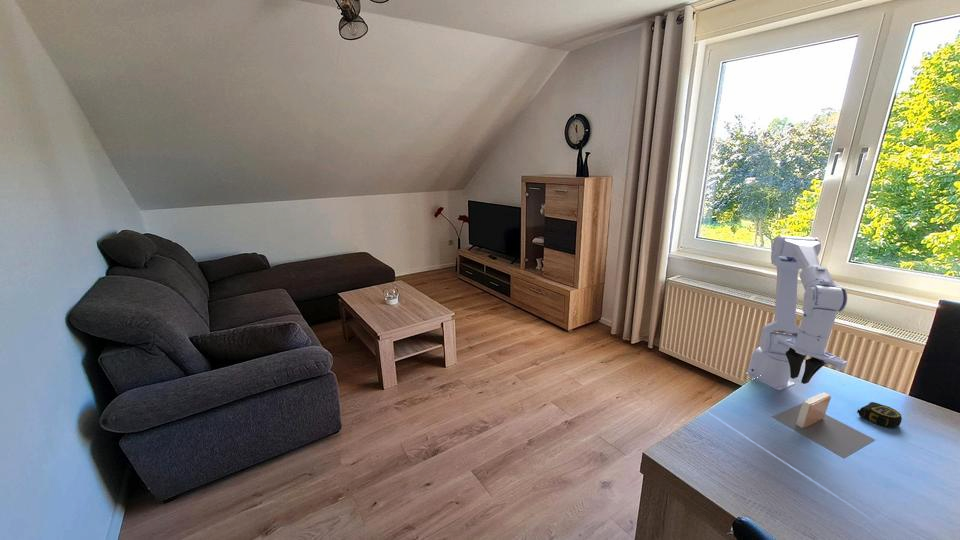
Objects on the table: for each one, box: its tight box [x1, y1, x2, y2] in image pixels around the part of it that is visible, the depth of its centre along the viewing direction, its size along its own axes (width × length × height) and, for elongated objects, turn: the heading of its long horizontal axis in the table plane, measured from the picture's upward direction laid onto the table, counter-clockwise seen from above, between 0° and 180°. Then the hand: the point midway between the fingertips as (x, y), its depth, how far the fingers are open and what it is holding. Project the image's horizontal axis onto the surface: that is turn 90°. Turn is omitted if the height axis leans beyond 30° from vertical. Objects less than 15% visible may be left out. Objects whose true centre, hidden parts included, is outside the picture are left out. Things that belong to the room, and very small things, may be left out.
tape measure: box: [856, 401, 903, 429], centre depth 96 cm, size 7×7×4 cm
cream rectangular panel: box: [796, 392, 832, 428], centre depth 94 cm, size 2×9×7 cm, turn 114°
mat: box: [771, 402, 876, 459], centre depth 93 cm, size 15×14×1 cm
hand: (799, 379), depth 96 cm, fingers closed
